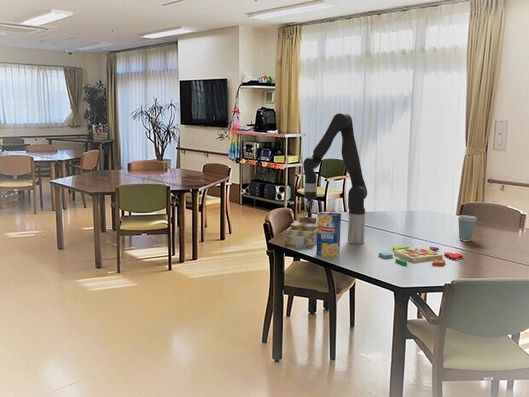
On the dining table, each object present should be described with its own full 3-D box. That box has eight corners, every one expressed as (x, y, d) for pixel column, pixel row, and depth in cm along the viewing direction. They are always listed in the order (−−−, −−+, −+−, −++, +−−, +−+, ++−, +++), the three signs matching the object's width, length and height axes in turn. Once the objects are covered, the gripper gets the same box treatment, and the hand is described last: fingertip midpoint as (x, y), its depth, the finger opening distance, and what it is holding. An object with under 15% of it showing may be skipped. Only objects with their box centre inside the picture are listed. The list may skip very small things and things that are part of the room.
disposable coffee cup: (457, 237, 303) (459, 213, 301) (476, 239, 298) (478, 215, 295) (454, 241, 294) (456, 216, 292) (473, 243, 289) (476, 218, 286)
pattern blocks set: (423, 272, 237) (423, 266, 236) (369, 255, 263) (370, 249, 263) (468, 259, 259) (468, 253, 259) (414, 245, 286) (415, 239, 285)
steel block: (305, 246, 278) (305, 236, 277) (303, 248, 273) (303, 238, 272) (297, 245, 279) (297, 235, 278) (295, 247, 275) (295, 237, 274)
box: (318, 241, 289) (318, 227, 288) (314, 246, 278) (314, 232, 277) (291, 238, 294) (291, 225, 292) (286, 243, 282) (286, 230, 281)
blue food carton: (319, 251, 268) (321, 211, 264) (339, 254, 264) (341, 213, 260) (316, 254, 262) (317, 214, 258) (336, 257, 258) (338, 215, 254)
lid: (321, 224, 296) (321, 217, 296) (317, 228, 285) (317, 221, 284) (295, 222, 301) (295, 215, 300) (290, 226, 290) (290, 219, 289)
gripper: (314, 192, 291) (313, 221, 294) (318, 189, 304) (317, 216, 307) (301, 191, 294) (301, 220, 297) (306, 188, 306) (306, 216, 309)
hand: (309, 218), depth 302 cm, fingers closed
